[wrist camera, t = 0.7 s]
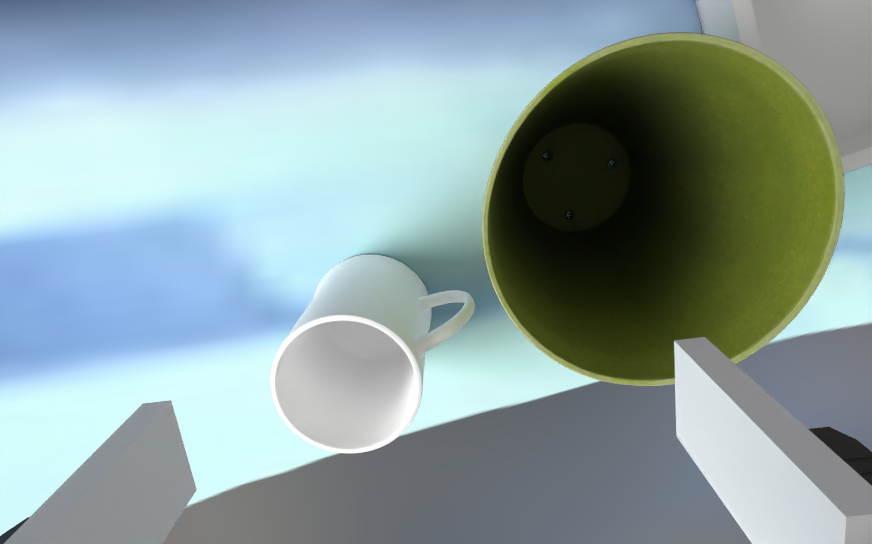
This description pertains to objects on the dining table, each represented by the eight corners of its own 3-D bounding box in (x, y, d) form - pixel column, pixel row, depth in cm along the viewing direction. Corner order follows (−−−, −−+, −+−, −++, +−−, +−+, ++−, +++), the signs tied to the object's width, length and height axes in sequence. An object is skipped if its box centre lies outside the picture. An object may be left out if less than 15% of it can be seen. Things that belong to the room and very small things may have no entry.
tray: (692, -10, 37) (726, -25, 32) (958, -113, 35) (1031, -144, 31) (739, 187, 40) (775, 197, 36) (984, 101, 38) (1053, 100, 34)
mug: (454, 224, 41) (457, 270, 29) (489, 334, 43) (506, 417, 31) (295, 274, 42) (239, 338, 30) (338, 379, 44) (300, 475, 33)
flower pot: (735, 135, 39) (925, 153, 24) (610, 320, 43) (704, 441, 27) (541, 17, 37) (610, -46, 22) (428, 221, 41) (418, 290, 25)
